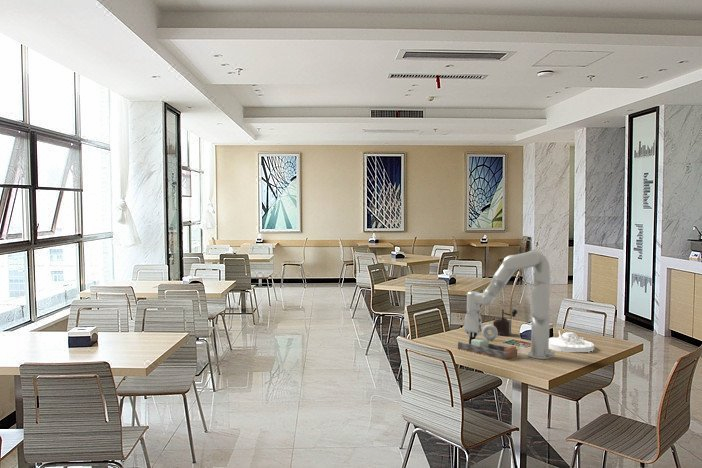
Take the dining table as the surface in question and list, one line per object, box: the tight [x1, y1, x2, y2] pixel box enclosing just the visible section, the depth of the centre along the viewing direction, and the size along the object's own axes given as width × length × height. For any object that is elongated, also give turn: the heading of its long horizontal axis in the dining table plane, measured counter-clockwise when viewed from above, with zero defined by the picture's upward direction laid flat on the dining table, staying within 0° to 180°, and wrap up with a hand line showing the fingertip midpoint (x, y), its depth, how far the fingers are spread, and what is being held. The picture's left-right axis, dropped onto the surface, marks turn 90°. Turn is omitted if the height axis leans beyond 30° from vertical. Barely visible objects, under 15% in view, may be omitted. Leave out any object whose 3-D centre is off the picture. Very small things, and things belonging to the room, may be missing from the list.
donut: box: [481, 323, 499, 341], centre depth 353 cm, size 10×4×10 cm, turn 62°
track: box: [457, 339, 518, 361], centre depth 320 cm, size 32×12×6 cm, turn 42°
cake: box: [549, 330, 595, 353], centre depth 336 cm, size 28×28×10 cm
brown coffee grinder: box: [492, 309, 518, 337], centre depth 369 cm, size 16×11×18 cm
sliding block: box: [471, 337, 490, 348], centre depth 323 cm, size 6×9×5 cm
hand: (472, 343), depth 327 cm, fingers closed
